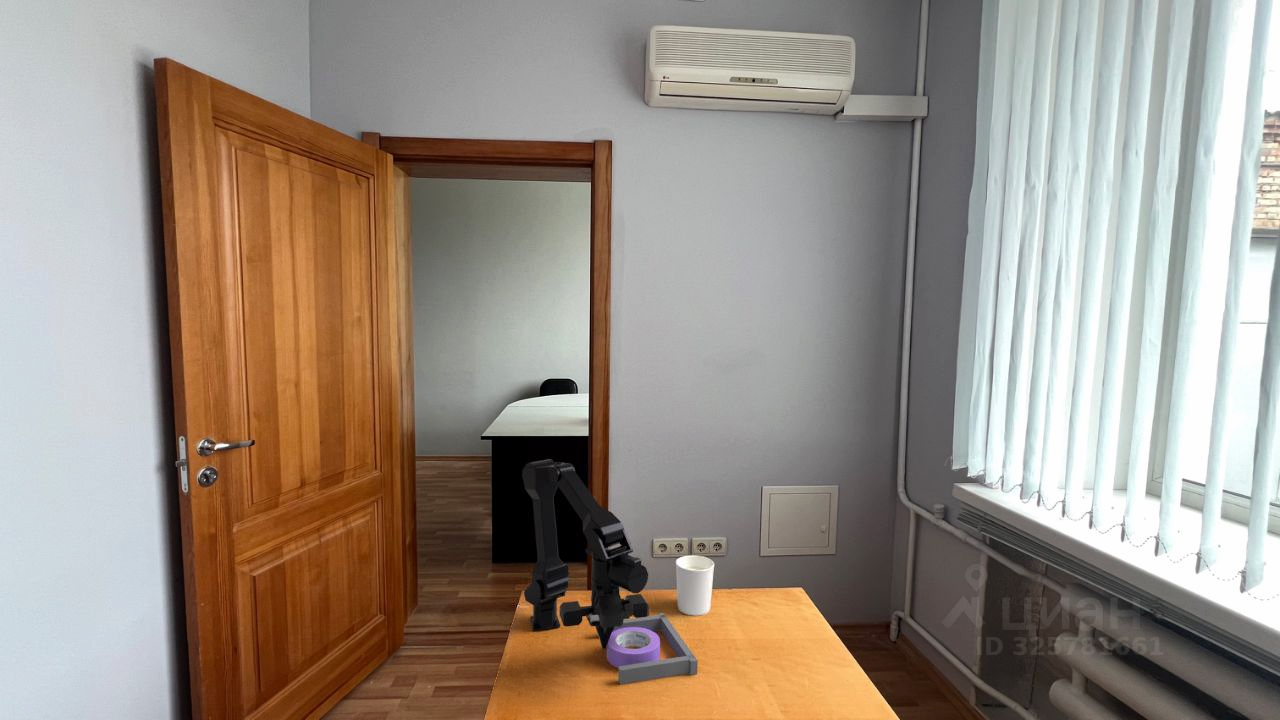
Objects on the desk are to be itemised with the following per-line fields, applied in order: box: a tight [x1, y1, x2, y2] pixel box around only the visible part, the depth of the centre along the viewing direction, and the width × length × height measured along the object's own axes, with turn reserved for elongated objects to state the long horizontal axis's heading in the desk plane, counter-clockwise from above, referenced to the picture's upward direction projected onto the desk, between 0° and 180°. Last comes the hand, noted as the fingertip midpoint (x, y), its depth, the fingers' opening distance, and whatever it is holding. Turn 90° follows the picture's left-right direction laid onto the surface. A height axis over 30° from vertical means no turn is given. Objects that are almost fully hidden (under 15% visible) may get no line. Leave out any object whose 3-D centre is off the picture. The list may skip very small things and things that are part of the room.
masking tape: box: [606, 627, 661, 669], centre depth 135 cm, size 12×12×4 cm
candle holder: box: [675, 555, 715, 616], centre depth 158 cm, size 10×10×12 cm
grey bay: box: [612, 612, 699, 686], centre depth 136 cm, size 22×16×3 cm
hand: (603, 647), depth 134 cm, fingers closed
